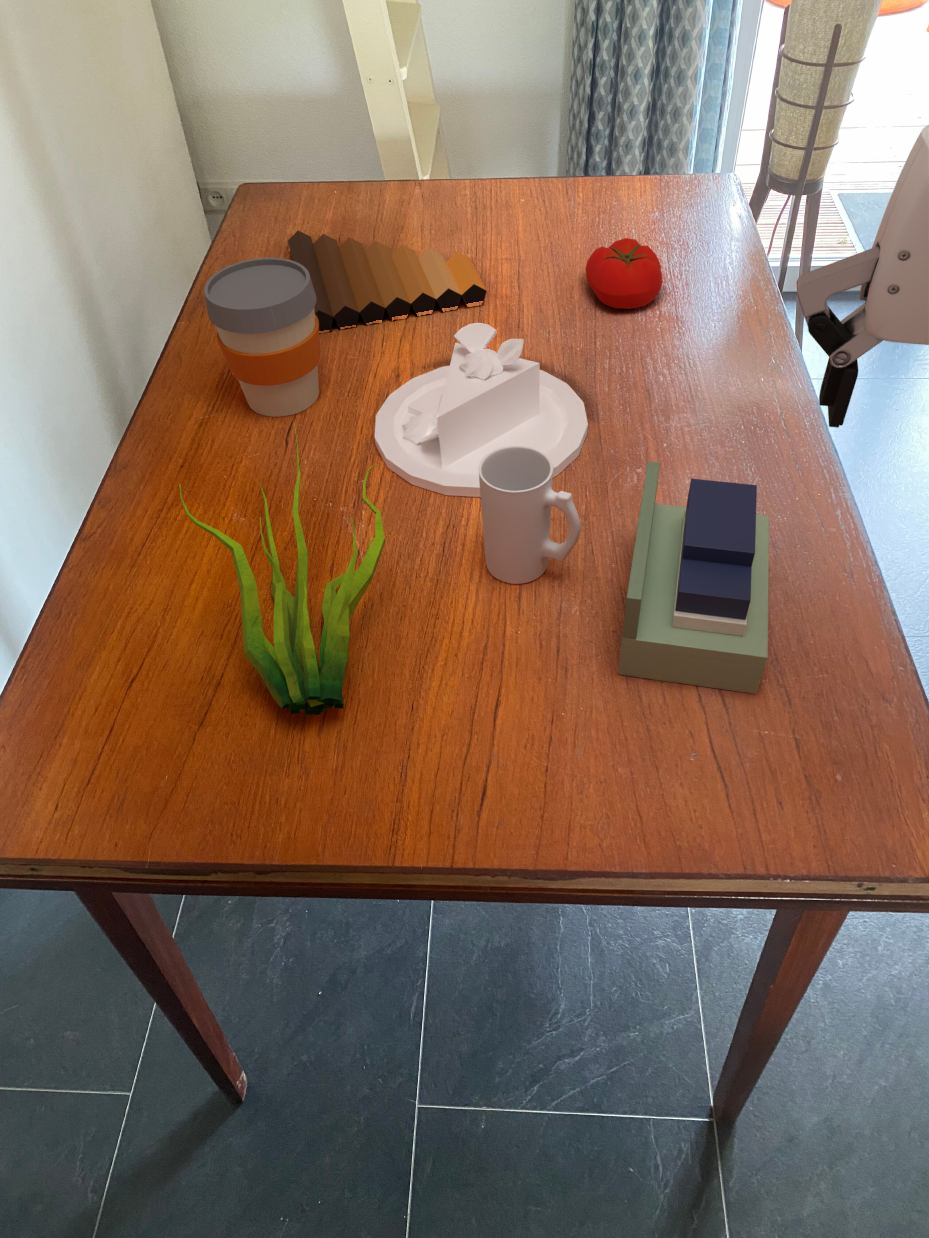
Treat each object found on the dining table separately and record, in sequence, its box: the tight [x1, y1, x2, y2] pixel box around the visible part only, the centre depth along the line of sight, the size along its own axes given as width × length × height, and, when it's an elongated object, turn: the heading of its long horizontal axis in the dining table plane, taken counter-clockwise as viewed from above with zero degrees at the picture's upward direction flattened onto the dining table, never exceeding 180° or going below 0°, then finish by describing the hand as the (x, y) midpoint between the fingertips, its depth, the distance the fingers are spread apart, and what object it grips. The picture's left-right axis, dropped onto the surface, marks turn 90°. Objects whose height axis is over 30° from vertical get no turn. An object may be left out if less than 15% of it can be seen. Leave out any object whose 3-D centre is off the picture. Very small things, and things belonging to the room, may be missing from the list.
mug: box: [479, 446, 581, 585], centre depth 86 cm, size 10×7×12 cm, turn 59°
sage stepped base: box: [617, 461, 770, 695], centre depth 82 cm, size 12×18×10 cm, turn 167°
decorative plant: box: [178, 422, 386, 716], centre depth 84 cm, size 18×30×15 cm, turn 169°
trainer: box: [672, 478, 758, 636], centre depth 80 cm, size 14×6×6 cm, turn 167°
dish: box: [374, 322, 589, 498], centre depth 103 cm, size 25×25×11 cm
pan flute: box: [287, 230, 488, 331], centre depth 132 cm, size 25×3×25 cm
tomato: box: [584, 237, 663, 310], centre depth 123 cm, size 10×11×6 cm
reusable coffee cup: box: [203, 257, 321, 418], centre depth 108 cm, size 13×13×15 cm
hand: (918, 421), depth 54 cm, fingers open, 9 cm apart
